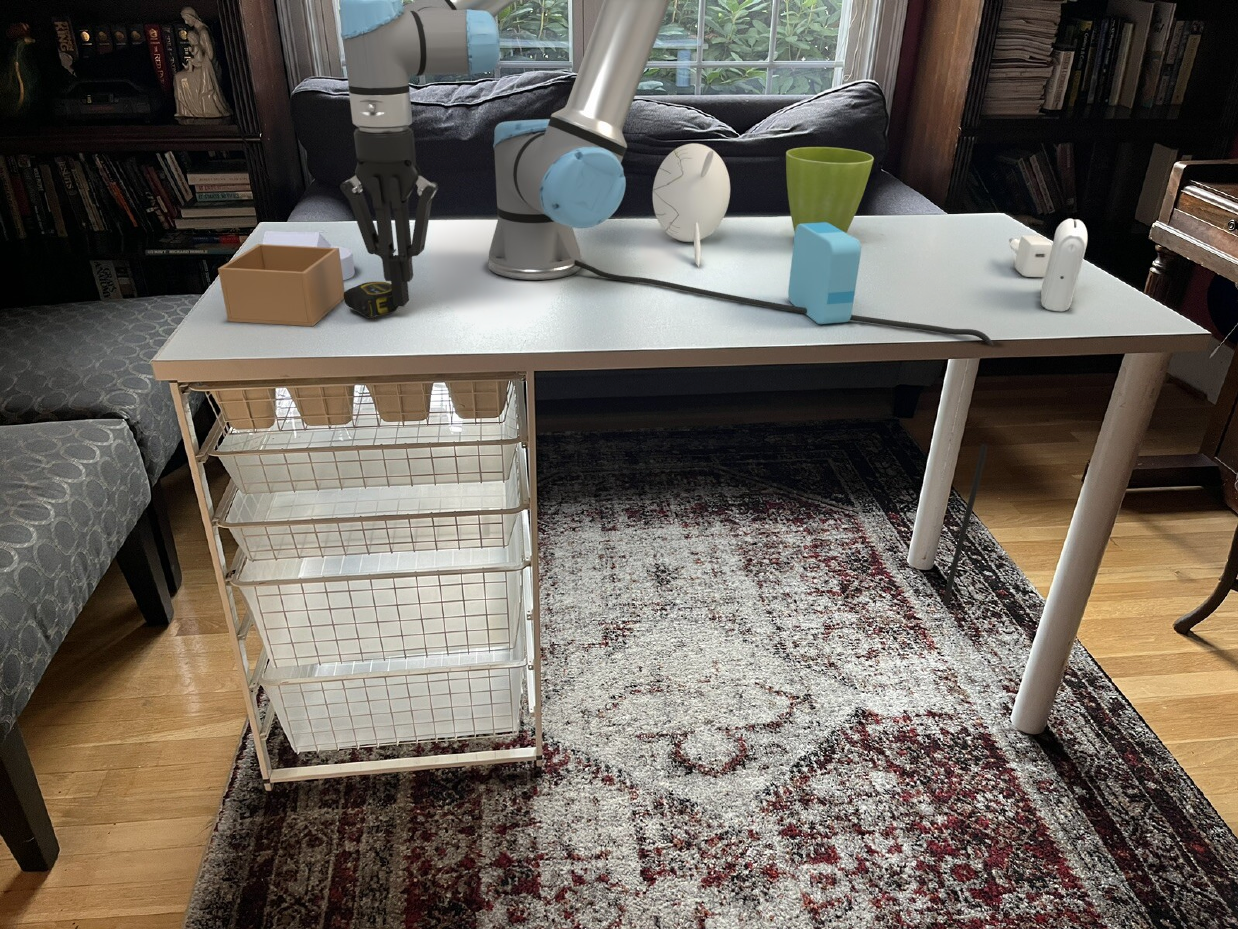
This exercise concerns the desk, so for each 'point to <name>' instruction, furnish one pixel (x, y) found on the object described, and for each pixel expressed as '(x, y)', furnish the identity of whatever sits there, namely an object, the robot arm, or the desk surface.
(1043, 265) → the power adapter
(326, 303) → the box
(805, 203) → the flower pot
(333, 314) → the desk surface
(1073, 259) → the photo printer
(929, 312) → the desk surface
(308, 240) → the wedge on round base
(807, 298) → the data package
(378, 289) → the tape measure
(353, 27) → the robot arm
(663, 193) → the cracked egg ornament
